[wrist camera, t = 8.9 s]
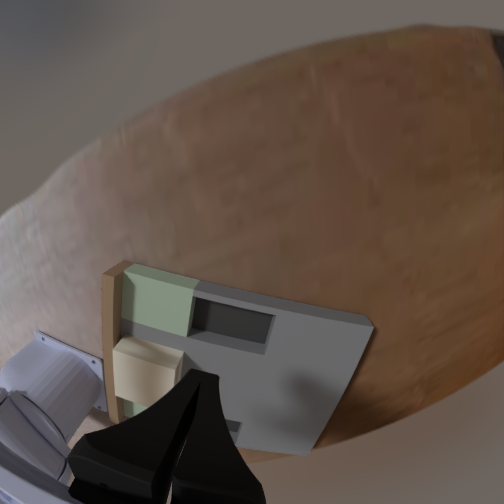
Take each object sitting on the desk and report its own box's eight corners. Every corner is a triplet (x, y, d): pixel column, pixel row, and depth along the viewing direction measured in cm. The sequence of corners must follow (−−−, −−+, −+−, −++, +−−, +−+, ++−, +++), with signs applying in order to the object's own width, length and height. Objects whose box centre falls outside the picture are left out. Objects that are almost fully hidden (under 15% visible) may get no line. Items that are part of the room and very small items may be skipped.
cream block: (126, 378, 23) (115, 395, 20) (125, 333, 21) (112, 349, 19) (178, 395, 23) (171, 414, 20) (183, 351, 21) (175, 370, 19)
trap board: (122, 400, 26) (110, 421, 23) (123, 260, 22) (102, 273, 19) (306, 441, 26) (308, 466, 23) (366, 315, 22) (380, 336, 19)
